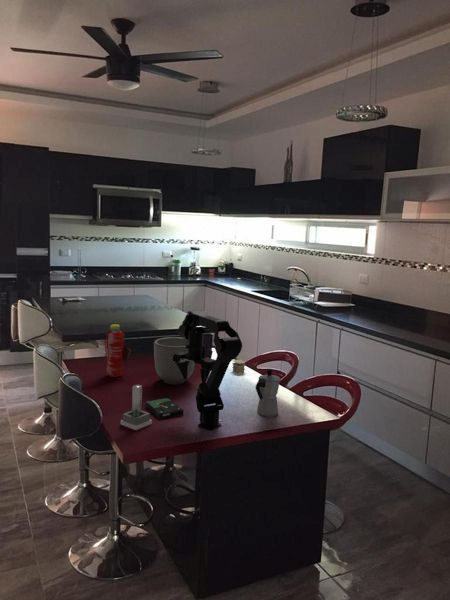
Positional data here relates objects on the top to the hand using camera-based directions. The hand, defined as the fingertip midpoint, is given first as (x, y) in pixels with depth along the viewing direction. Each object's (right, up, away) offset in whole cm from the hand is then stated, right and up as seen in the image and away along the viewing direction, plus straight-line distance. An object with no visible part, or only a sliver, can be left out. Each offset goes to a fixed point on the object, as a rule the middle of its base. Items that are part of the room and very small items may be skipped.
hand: (194, 381), depth 197 cm
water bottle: (-40, -5, +47) cm, 62 cm away
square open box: (-21, -14, -10) cm, 27 cm away
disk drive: (-12, -13, +4) cm, 18 cm away
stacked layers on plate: (+19, -5, +61) cm, 64 cm away
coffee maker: (+28, -14, +6) cm, 32 cm away
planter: (-12, -7, +41) cm, 43 cm away
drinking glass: (-21, -12, -11) cm, 26 cm away
